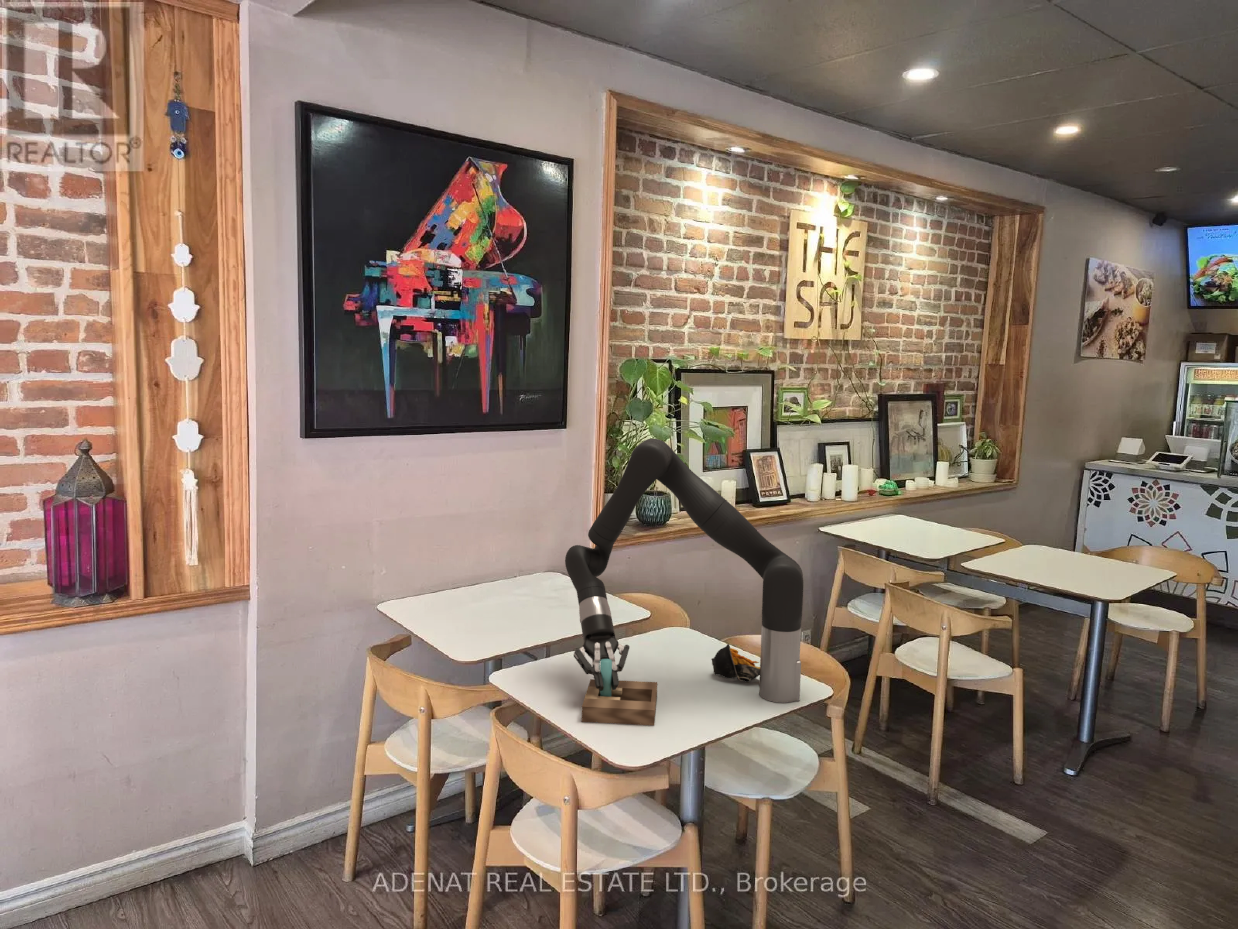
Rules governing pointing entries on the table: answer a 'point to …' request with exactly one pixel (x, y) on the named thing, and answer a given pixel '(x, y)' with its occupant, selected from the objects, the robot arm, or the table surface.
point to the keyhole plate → (621, 704)
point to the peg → (606, 677)
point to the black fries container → (734, 665)
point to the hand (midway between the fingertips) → (608, 688)
